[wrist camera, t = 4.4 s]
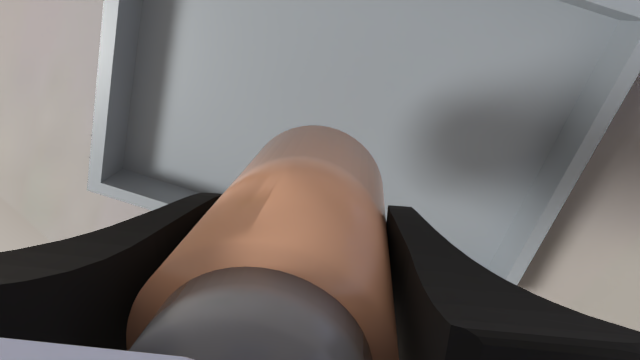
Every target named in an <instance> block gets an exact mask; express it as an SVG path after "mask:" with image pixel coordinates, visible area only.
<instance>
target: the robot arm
mask: <svg viewBox="0 0 640 360" xmlns="http://www.w3.org/2000/svg"><path fill="white" fill-rule="evenodd" d="M221 195H222V194H218V193H203V192H202V193H197V194H194V195H190V196H188V197H185V198H182V199H180V200H177V201H175V202H172V203H170V204H167V205H165V206H162V207H160V208H157V209H155V210H153V211H150V212H148V213H145V214H142V215H140V216H137V217H134V218H132V219H129V220H126V221H123V222H121V223H118V224H115V225H113V226H110V227H107V228H104V229H100V230H97V231H94V232H91V233H87V234H83V235H80V236H76V237H73V238H69V239H65V240H61V241H56V242H51V243H46V244H42V245H37V246H32V247H27V248H23V249H18V250H12V251H6V252H0V360H194V359H191V358H188V357H182V356H173V355H163V354H153V353H144V352H134V351H127V347H126V330H127V323H128V317H129V314H130V311H131V308H132V305H133V303H134V301H135V299H136V297H137V295H138V293H139V291H140V290H141V289H142V287H143V286H144V285H145V283H146V282H147V281H148V279H149V278H150V277H151V276H152V275H153V274H154V273H155V271H156V270H157V269H158V268H159V267H160V266H161V264H162V263H163V262H164V261H165V260H166V259H167V257H168V256H169V255H170V254H171V253H172V252H173V251H174V249H175V248H176V247H177V246H178V245H179V244H180V242H181V241H182V240H183V239H184V238H185V237H186V236H187V234H188V233H189V232H190V231H191V230H192V229H193V227H194V226H195V225H196V224H197V223H198V222H199V221H200V219H201V218H202V217H203V216H204V215H205V214H206V212H207V211H208V210H209V209H210V208H211V207H212V206H213V204H214V203H215V202H216V201H217V200H218V199H219V197H220V196H221ZM386 225H387V235H388V246H389V257H390V268H391V278H392V289H393V300H394V311H395V321H396V332H397V343H398V354H399V360H640V332H639V331H635V330H632V329H629V328H626V327H623V326H619V325H616V324H613V323H610V322H607V321H603V320H600V319H597V318H594V317H590V316H588V315H585V314H582V313H579V312H577V311H574V310H572V309H569V308H566V307H564V306H561V305H559V304H556V303H553V302H551V301H549V300H547V299H544V298H542V297H540V296H537V295H535V294H533V293H531V292H529V291H527V290H525V289H523V288H521V287H519V286H517V285H515V284H513V283H511V282H509V281H507V280H505V279H503V278H502V277H500V276H498V275H496V274H495V273H493V272H491V271H490V270H488V269H487V268H485V267H483V266H482V265H480V264H479V263H477V262H475V261H474V260H473V259H471V258H470V257H468V256H467V255H466V254H464V253H463V252H462V251H460V250H459V249H458V248H457V247H455V246H454V245H453V244H451V243H450V242H449V241H448V240H447V239H445V238H444V237H443V236H442V235H441V234H440V233H439V232H438V231H436V230H435V229H434V228H433V227H432V226H431V225H430V224H429V223H428V222H427V221H426V220H425V219H424V218H423V217H422V216H421V215H420V214H419V213H418V212H417V211H416V210H415V209H414V208H412V207H407V206H392V205H388V211H387V221H386Z"/></svg>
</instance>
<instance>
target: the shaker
mask: <svg viewBox="0 0 640 360" xmlns="http://www.w3.org/2000/svg"><path fill="white" fill-rule="evenodd" d="M126 347H127V351H134V352H144V353H153V354H163V355H173V356H182V357H188V358H191V359H194V360H399V354H398V343H397V332H396V321H395V311H394V300H393V289H392V278H391V268H390V257H389V246H388V235H387V225H386V214H385V203H384V193H383V182H382V178H381V173H380V171H379V168H378V166H377V164H376V162H375V160H374V158H373V157H372V155H371V154H370V153H369V151H368V150H367V149H366V148H365V147H364V146H363V145H362V144H361V143H360V142H358V141H357V140H356V139H355V138H353V137H351V136H350V135H348V134H347V133H344V132H342V131H340V130H337V129H334V128H330V127H326V126H317V125H308V126H300V127H296V128H292V129H289V130H287V131H284V132H282V133H280V134H279V135H277V136H275V137H274V138H273V139H271V140H270V141H269V142H268V143H267V144H266V145H265V146H264V147H263V148H262V149H261V150H260V151H259V152H258V154H257V155H256V156H255V157H254V158H253V159H252V161H251V162H250V163H249V164H248V165H247V166H246V167H245V169H244V170H243V171H242V172H241V173H240V174H239V176H238V177H237V178H236V179H235V180H234V181H233V182H232V184H231V185H230V186H229V187H228V188H227V189H226V191H225V192H224V193H223V194H222V195H221V196H220V197H219V199H218V200H217V201H216V202H215V203H214V204H213V206H212V207H211V208H210V209H209V210H208V211H207V212H206V214H205V215H204V216H203V217H202V218H201V219H200V221H199V222H198V223H197V224H196V225H195V226H194V227H193V229H192V230H191V231H190V232H189V233H188V234H187V236H186V237H185V238H184V239H183V240H182V241H181V242H180V244H179V245H178V246H177V247H176V248H175V249H174V251H173V252H172V253H171V254H170V255H169V256H168V257H167V259H166V260H165V261H164V262H163V263H162V264H161V266H160V267H159V268H158V269H157V270H156V271H155V273H154V274H153V275H152V276H151V277H150V278H149V279H148V281H147V282H146V283H145V285H144V286H143V287H142V289H141V290H140V291H139V293H138V295H137V297H136V299H135V301H134V303H133V305H132V308H131V311H130V314H129V317H128V323H127V330H126Z"/></svg>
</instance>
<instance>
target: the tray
mask: <svg viewBox="0 0 640 360" xmlns="http://www.w3.org/2000/svg"><path fill="white" fill-rule="evenodd" d="M639 73H640V0H104V2H103V13H102V25H101V36H100V48H99V59H98V71H97V82H96V93H95V105H94V116H93V128H92V139H91V151H90V162H89V173H88V185H87V190H88V191H91V192H94V193H97V194H100V195H104V196H107V197H110V198H113V199H116V200H120V201H123V202H126V203H129V204H132V205H136V206H139V207H142V208H145V209H149V210H152V211H153V210H155V209H157V208H160V207H162V206H165V205H167V204H170V203H172V202H175V201H177V200H180V199H182V198H185V197H188V196H190V195H194V194H197V193H202V192H203V193H218V194H223V193H224V192H225V191H226V189H227V188H228V187H229V186H230V185H231V184H232V182H233V181H234V180H235V179H236V178H237V177H238V176H239V174H240V173H241V172H242V171H243V170H244V169H245V167H246V166H247V165H248V164H249V163H250V162H251V161H252V159H253V158H254V157H255V156H256V155H257V154H258V152H259V151H260V150H261V149H262V148H263V147H264V146H265V145H266V144H267V143H268V142H269V141H270V140H271V139H273V138H274V137H275V136H277V135H279V134H280V133H282V132H284V131H287V130H289V129H292V128H296V127H300V126H308V125H317V126H326V127H330V128H334V129H337V130H340V131H342V132H344V133H347V134H348V135H350V136H351V137H353V138H355V139H356V140H357V141H358V142H360V143H361V144H362V145H363V146H364V147H365V148H366V149H367V150H368V151H369V153H370V154H371V155H372V157H373V158H374V160H375V162H376V164H377V166H378V168H379V171H380V173H381V178H382V182H383V193H384V203H385V214H386V221H387V211H388V205H392V206H407V207H412V208H414V209H415V210H416V211H417V212H418V213H419V214H420V215H421V216H422V217H423V218H424V219H425V220H426V221H427V222H428V223H429V224H430V225H431V226H432V227H433V228H434V229H435V230H436V231H438V232H439V233H440V234H441V235H442V236H443V237H444V238H445V239H447V240H448V241H449V242H450V243H451V244H453V245H454V246H455V247H457V248H458V249H459V250H460V251H462V252H463V253H464V254H466V255H467V256H468V257H470V258H471V259H473V260H474V261H475V262H477V263H479V264H480V265H482V266H483V267H485V268H487V269H488V270H490V271H491V272H493V273H495V274H496V275H498V276H500V277H502V278H503V279H505V280H507V281H509V282H511V283H513V284H515V285H518V283H519V281H520V279H521V278H522V276H523V274H524V273H525V271H526V269H527V267H528V266H529V264H530V262H531V260H532V259H533V257H534V255H535V253H536V252H537V250H538V248H539V246H540V245H541V243H542V241H543V239H544V238H545V236H546V234H547V233H548V231H549V229H550V227H551V226H552V224H553V222H554V220H555V219H556V217H557V215H558V213H559V212H560V210H561V208H562V206H563V205H564V203H565V201H566V200H567V198H568V196H569V194H570V193H571V191H572V189H573V187H574V186H575V184H576V182H577V180H578V179H579V177H580V175H581V173H582V172H583V170H584V168H585V166H586V165H587V163H588V161H589V160H590V158H591V156H592V154H593V153H594V151H595V149H596V147H597V146H598V144H599V142H600V140H601V139H602V137H603V135H604V133H605V132H606V130H607V128H608V126H609V125H610V123H611V121H612V120H613V118H614V116H615V114H616V113H617V111H618V109H619V107H620V106H621V104H622V102H623V100H624V99H625V97H626V95H627V93H628V92H629V90H630V88H631V87H632V85H633V83H634V81H635V80H636V78H637V76H638V74H639Z"/></svg>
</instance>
